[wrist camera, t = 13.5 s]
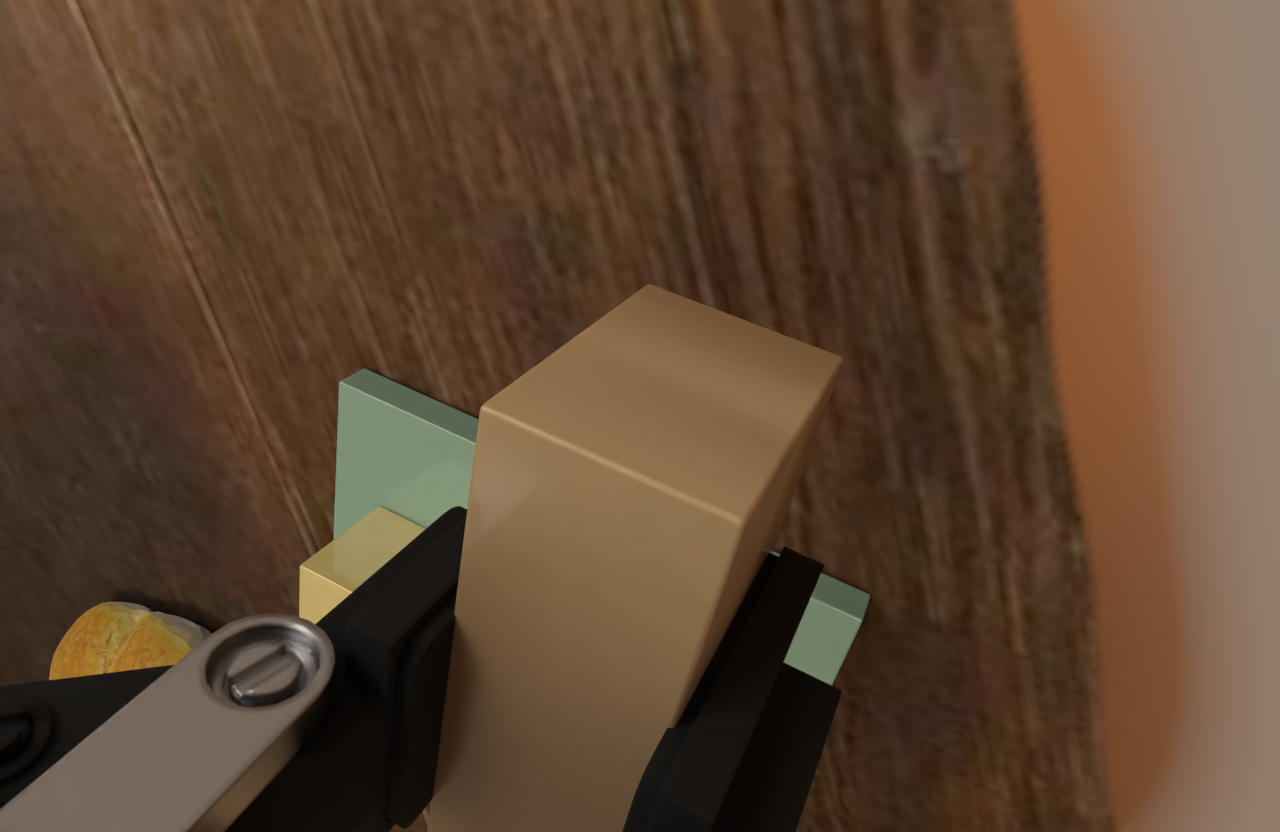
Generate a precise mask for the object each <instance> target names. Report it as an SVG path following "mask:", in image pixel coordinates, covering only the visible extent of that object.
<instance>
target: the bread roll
mask: <svg viewBox="0 0 1280 832" xmlns="http://www.w3.org/2000/svg"><path fill="white" fill-rule="evenodd" d="M211 634H212V633H211V632H210V631H208V630H207V629H205V628H204V627H202V626H200V625H198V624H195V623H193V622H191V621H189V620H187V619H184V618H181V617H178V616H175V615H169V614H165V613H162V612H153V611H152V610H151V609H149V608H147V607H145V606H142V605H139V604H134V603H127V602H105V603H101V604H99V605H97V606H95V607H93V608H91V609H90V610H88V611H86V612H85V613H84V614H83V615H82V616H81V617H79V618H78V619H77V620H76V621H75V623H74V624H73V625H72V627H71V628H70V629H69V630H68V632H67V633H66V634H65V636H64V637H63V639H62V640H61V642H60V644H59V645H58V647H57V649H56V651H55V653H54V656H53V660H52V663H51V669H50V677H49V680H56V679H64V678H72V677H80V676H88V675H96V674H104V673H112V672H120V671H128V670H136V669H144V668H152V667H160V666H168V665H175V664H176V663H177V662H178V661H180V660H181V659H182V658H183V657H184V656H186V655H187V654H188V653H189V652H190V651H192V650H193V649H194V648H195V647H196V646H198V645H199V644H200V643H201V642H202V641H204V640H205V639H206V638H207V637H208V636H210V635H211Z"/></svg>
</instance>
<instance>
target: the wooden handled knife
mask: <svg viewBox="0 0 1280 832" xmlns="http://www.w3.org/2000/svg"><path fill="white" fill-rule="evenodd" d="M842 365H843V358H842V357H840V356H838V355H835V354H833V353H830V352H827V351H825V350H822V349H819V348H817V347H814V346H811V345H809V344H806V343H804V342H801V341H798V340H796V339H793V338H790V337H788V336H785V335H782V334H780V333H777V332H775V331H772V330H769V329H767V328H764V327H761V326H759V325H756V324H753V323H751V322H748V321H746V320H743V319H740V318H738V317H735V316H732V315H730V314H727V313H724V312H722V311H719V310H717V309H714V308H711V307H709V306H706V305H703V304H701V303H698V302H695V301H693V300H690V299H688V298H685V297H682V296H680V295H677V294H674V293H672V292H669V291H667V290H664V289H661V288H659V287H656V286H653V285H646V286H644V287H643V288H642V289H640V290H639V291H638V292H636V293H635V294H633V295H632V296H631V297H629V298H628V299H627V300H625V301H624V302H622V303H621V304H620V305H618V306H617V307H616V308H614V309H613V310H611V311H610V312H609V313H607V314H606V315H605V316H603V317H602V318H601V319H599V320H598V321H596V322H595V323H594V324H592V325H591V326H590V327H588V328H587V329H585V330H584V331H583V332H581V333H580V334H579V335H577V336H576V337H575V338H573V339H572V340H570V341H569V342H568V343H566V344H565V345H564V346H562V347H561V348H559V349H558V350H557V351H555V352H554V353H553V354H551V355H550V356H548V357H547V358H546V359H544V360H543V361H542V362H540V363H539V364H538V365H536V366H535V367H533V368H532V369H531V370H529V371H528V372H527V373H525V374H524V375H522V376H521V377H520V378H518V379H517V380H516V381H514V382H513V383H511V384H510V385H509V386H507V387H506V388H505V389H503V390H502V391H501V392H499V393H498V394H496V395H495V396H494V397H492V398H491V399H490V400H488V401H487V402H485V403H484V404H483V405H482V407H481V409H480V414H479V422H478V430H477V438H476V446H475V453H474V461H473V469H472V477H471V485H470V493H469V501H468V509H467V517H466V525H465V533H464V541H463V549H462V557H461V565H460V573H459V580H458V588H457V596H456V604H455V612H454V615H455V616H456V619H455V627H454V634H453V642H452V650H451V658H450V666H449V674H448V681H447V689H446V697H445V705H444V713H443V720H442V728H441V736H440V744H439V752H438V760H437V767H436V775H435V783H434V791H433V798H432V799H431V803H430V811H429V819H428V826H427V832H622V831H623V828H624V825H625V822H626V819H627V816H628V813H629V810H630V807H631V804H632V801H633V798H634V795H635V792H636V790H637V787H638V785H639V782H640V780H641V778H642V776H643V773H644V771H645V769H646V767H647V765H648V763H649V761H650V759H651V757H652V755H653V753H654V751H655V749H656V747H657V746H658V744H659V742H660V740H661V738H662V736H663V735H664V733H665V731H666V729H667V727H668V728H674V727H676V726H677V724H678V722H679V720H680V718H681V716H682V714H683V713H684V711H685V709H686V707H687V705H688V703H689V701H690V699H691V698H692V696H693V694H694V692H695V690H696V688H697V686H698V684H699V682H700V681H701V679H702V677H703V675H704V673H705V671H706V669H707V667H708V666H709V664H710V662H711V660H712V658H713V656H714V654H715V652H716V650H717V649H718V647H719V645H720V643H721V641H722V639H723V637H724V635H725V634H726V632H727V630H728V628H729V626H730V624H731V622H732V620H733V618H734V617H735V615H736V613H737V611H738V609H739V607H740V605H741V603H742V602H743V600H744V598H745V596H746V594H747V592H748V590H749V588H750V586H751V585H752V583H753V581H754V579H755V577H756V575H757V573H758V571H759V570H760V568H761V566H762V564H763V562H764V560H765V558H766V556H767V555H768V553H771V554H772V551H773V549H774V546H775V543H776V541H777V538H778V535H779V533H780V530H781V527H782V525H783V522H784V519H785V517H786V514H787V511H788V509H789V506H790V503H791V501H792V498H793V495H794V493H795V490H796V487H797V485H798V482H799V479H800V477H801V474H802V471H803V469H804V466H805V463H806V461H807V458H808V455H809V453H810V450H811V447H812V445H813V442H814V439H815V437H816V434H817V431H818V429H819V426H820V423H821V421H822V418H823V415H824V413H825V410H826V407H827V405H828V402H829V399H830V397H831V394H832V391H833V389H834V386H835V383H836V381H837V378H838V375H839V373H840V370H841V367H842Z"/></svg>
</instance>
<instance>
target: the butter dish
mask: <svg viewBox="0 0 1280 832" xmlns="http://www.w3.org/2000/svg"><path fill="white" fill-rule="evenodd" d="M478 422H479V419H477V418H475V417H472V416H470V415H468V414H466V413H464V412H461V411H459V410H457V409H455V408H452V407H450V406H448V405H446V404H443V403H441V402H439V401H437V400H435V399H432V398H430V397H428V396H426V395H423V394H421V393H419V392H417V391H414V390H412V389H410V388H408V387H405V386H403V385H401V384H399V383H397V382H394V381H392V380H390V379H388V378H385V377H383V376H381V375H379V374H376V373H374V372H372V371H370V370H367V369H362V370H360V371H358V372H356V373H354V374H353V375H351V376H349V377H347V378H345V379H343V380H341V381H340V382H339V401H338V428H337V456H336V483H335V511H334V538H333V541H332V542H330V543H329V544H328V545H326V546H325V547H324V548H322V549H321V550H320V551H318V552H317V553H316V554H314V555H313V556H312V557H311V558H309V559H308V560H307V561H305V562H304V563H303V564H301V565H300V595H299V617H300V618H303V619H306V620H309V621H311V622H312V623H314V624H316V623H317V622H318V621H320V620H321V619H322V618H323V617H324V616H325V615H326V614H328V613H329V612H330V611H331V610H332V609H333V608H335V607H336V606H337V605H338V604H339V603H340V602H342V601H343V600H344V599H345V598H346V597H347V596H349V595H350V594H351V593H352V592H353V591H354V590H355V589H357V588H358V587H359V586H360V585H361V584H362V583H364V582H365V581H366V580H367V579H368V578H369V577H371V576H372V575H373V574H374V573H375V572H376V571H378V570H379V569H380V568H381V567H382V566H383V565H384V564H386V563H387V562H388V561H389V560H390V559H391V558H393V557H394V556H395V555H396V554H397V553H398V552H400V551H401V550H402V549H403V548H404V547H405V546H407V545H408V544H409V543H410V542H411V541H412V540H414V539H415V538H416V537H417V536H418V535H419V534H420V533H422V532H423V531H424V530H425V529H426V528H427V527H429V526H430V525H431V524H432V523H433V522H434V521H436V520H437V519H438V518H439V517H440V516H441V515H443V514H444V513H445V512H447V511H448V510H450V509H451V508H453V507H457V506H461V507H463V508H465V509H468V501H469V493H470V485H471V477H472V469H473V461H474V453H475V446H476V438H477V430H478ZM772 554H774V555H776V556H778V557H779V556H780V554H779V553H776V552H774V551H772ZM870 597H871V596H870V594H868V593H866V592H863V591H861V590H859V589H857V588H855V587H852V586H850V585H848V584H846V583H843V582H841V581H839V580H837V579H834V578H832V577H830V576H828V575H825V574H823V573H821V574H820V577H819V579H818V582H817V584H816V586H815V589H814V591H813V593H812V596H811V598H810V601H809V603H808V605H807V608H806V610H805V612H804V615H803V617H802V619H801V622H800V624H799V627H798V629H797V631H796V634H795V636H794V638H793V641H792V643H791V645H790V648H789V650H788V653H787V655H786V657H785V660H784V663H786V664H788V665H790V666H792V667H794V668H796V669H798V670H801V671H803V672H805V673H807V674H809V675H811V676H813V677H815V678H817V679H819V680H821V681H823V682H825V683H827V684H829V685H833V683H834V681H835V679H836V677H837V675H838V672H839V670H840V668H841V666H842V664H843V662H844V660H845V658H846V656H847V653H848V651H849V649H850V647H851V645H852V643H853V641H854V639H855V636H856V634H857V632H858V630H859V628H860V626H861V624H862V622H863V619H864V616H865V613H866V610H867V607H868V604H869V601H870Z"/></svg>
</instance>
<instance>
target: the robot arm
mask: <svg viewBox="0 0 1280 832" xmlns="http://www.w3.org/2000/svg"><path fill="white" fill-rule="evenodd" d="M466 517H467V509H465V508H463V507H461V506H457V507H453V508H451V509H450V510H448V511H447V512H445V513H444V514H443V515H441V516H440V517H439V518H438V519H437V520H436V521H434V522H433V523H432V524H431V525H430V526H429V527H427V528H426V529H425V530H424V531H423V532H422V533H420V534H419V535H418V536H417V537H416V538H415V539H414V540H412V541H411V542H410V543H409V544H408V545H407V546H405V547H404V548H403V549H402V550H401V551H400V552H398V553H397V554H396V555H395V556H394V557H393V558H391V559H390V560H389V561H388V562H387V563H386V564H384V565H383V566H382V567H381V568H380V569H379V570H378V571H376V572H375V573H374V574H373V575H372V576H371V577H369V578H368V579H367V580H366V581H365V582H364V583H362V584H361V585H360V586H359V587H358V588H357V589H355V590H354V591H353V592H352V593H351V594H350V595H349V596H347V597H346V598H345V599H344V600H343V601H342V602H340V603H339V604H338V605H337V606H336V607H335V608H333V609H332V610H331V611H330V612H329V613H328V614H326V615H325V616H324V617H323V618H322V619H321V620H320V621H318V622H317V623H316V624H314V623H312V622H311V621H309V620H306V619H303V618H300V617H297V616H294V615H289V614H277V613H268V614H260V615H253V616H248V617H245V618H242V619H240V620H237V621H234V622H231V623H228V624H227V625H225V626H224V627H222V628H221V629H219V630H217V631H216V632H214V633H213V634H211V635H210V636H208V637H207V638H206V639H205V640H204V641H202V642H201V643H200V644H199V645H198V646H196V647H195V648H194V649H193V650H192V651H190V652H189V653H188V654H187V655H186V656H184V657H183V658H182V659H181V660H180V661H178V662H177V663H176V664H175V665H168V666H160V667H152V668H144V669H136V670H128V671H120V672H112V673H104V674H96V675H88V676H80V677H72V678H64V679H56V680H48V681H40V682H32V683H24V684H16V685H8V686H1V687H0V832H389V831H390V830H391V829H392V827H393V826H394V825H395V824H396V825H398V826H400V827H401V828H403V829H405V828H408V827H409V826H410V825H411V824H412V823H413V822H414V821H415V820H416V819H417V817H418V816H419V815H420V814H421V812H422V811H423V810H424V808H425V807H426V806H427V805H428V803H429V802H430V801H431V799H432V798H433V791H434V783H435V775H436V767H437V760H438V752H439V744H440V736H441V728H442V720H443V713H444V705H445V697H446V689H447V681H448V674H449V666H450V658H451V650H452V642H453V634H454V627H455V619H456V616H455V615H454V612H455V604H456V596H457V588H458V580H459V573H460V565H461V557H462V549H463V541H464V533H465V525H466ZM823 567H824V564H822V563H820V562H817V561H815V560H813V559H811V558H808V557H806V556H804V555H802V554H799V553H797V552H795V551H793V550H790V549H788V548H786V547H784V548H783V550H782V552H781V554H780V556H779V557H778V556H776V555H774V554H771V553H768V555H767V556H766V558H765V560H764V562H763V564H762V566H761V568H760V570H759V571H758V573H757V575H756V577H755V579H754V581H753V583H752V585H751V586H750V588H749V590H748V592H747V594H746V596H745V598H744V600H743V602H742V603H741V605H740V607H739V609H738V611H737V613H736V615H735V617H734V618H733V620H732V622H731V624H730V626H729V628H728V630H727V632H726V634H725V635H724V637H723V639H722V641H721V643H720V645H719V647H718V649H717V650H716V652H715V654H714V656H713V658H712V660H711V662H710V664H709V666H708V667H707V669H706V671H705V673H704V675H703V677H702V679H701V681H700V682H699V684H698V686H697V688H696V690H695V692H694V694H693V696H692V698H691V699H690V701H689V703H688V705H687V707H686V709H685V711H684V713H683V714H682V716H681V718H680V720H679V722H678V724H677V726H676V727H674V728H668V727H667V729H666V731H665V733H664V735H663V736H662V738H661V740H660V742H659V744H658V746H657V747H656V749H655V751H654V753H653V755H652V757H651V759H650V761H649V763H648V765H647V767H646V769H645V771H644V773H643V776H642V778H641V780H640V782H639V785H638V787H637V790H636V792H635V795H634V798H633V801H632V804H631V807H630V810H629V813H628V816H627V819H626V822H625V825H624V828H623V831H622V832H796V829H797V826H798V823H799V820H800V817H801V814H802V811H803V808H804V805H805V802H806V799H807V796H808V793H809V790H810V787H811V784H812V781H813V778H814V775H815V772H816V768H817V765H818V762H819V759H820V756H821V753H822V750H823V747H824V744H825V741H826V738H827V735H828V732H829V729H830V726H831V723H832V720H833V717H834V714H835V711H836V708H837V705H838V702H839V699H840V695H841V690H840V689H838V688H836V687H834V686H832V685H829V684H827V683H825V682H823V681H821V680H819V679H817V678H815V677H813V676H811V675H809V674H807V673H805V672H803V671H801V670H798V669H796V668H794V667H792V666H790V665H788V664H786V663H784V660H785V657H786V655H787V653H788V650H789V648H790V645H791V643H792V641H793V638H794V636H795V634H796V631H797V629H798V627H799V624H800V622H801V619H802V617H803V615H804V612H805V610H806V608H807V605H808V603H809V601H810V598H811V596H812V593H813V591H814V589H815V586H816V584H817V582H818V579H819V577H820V574H821V572H822V570H823Z"/></svg>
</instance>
